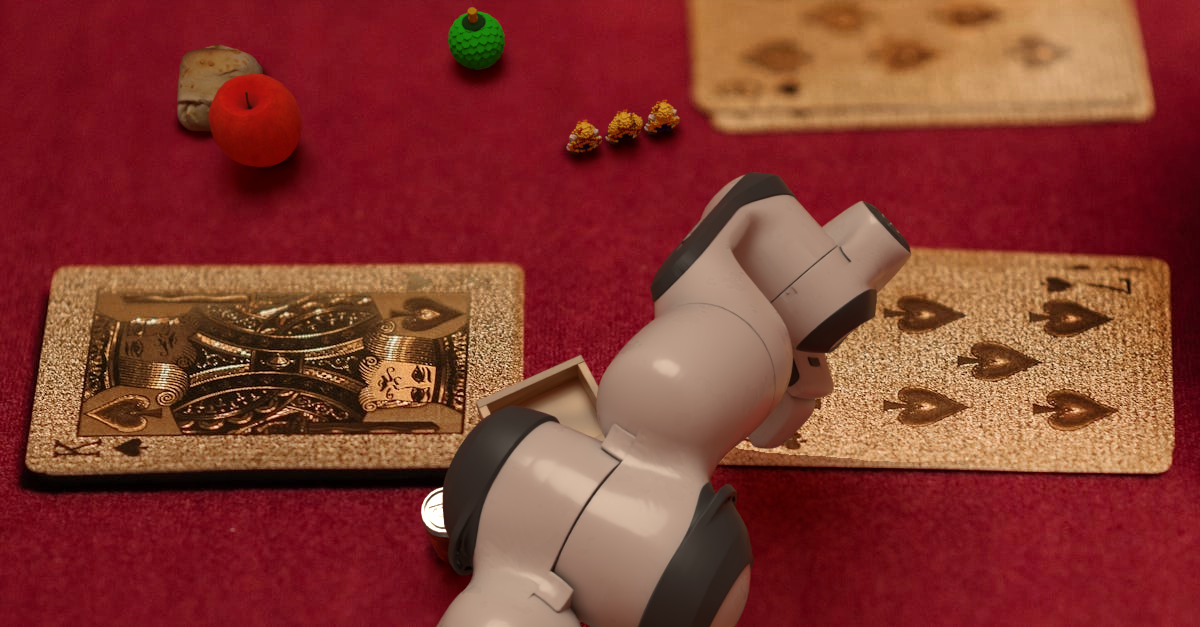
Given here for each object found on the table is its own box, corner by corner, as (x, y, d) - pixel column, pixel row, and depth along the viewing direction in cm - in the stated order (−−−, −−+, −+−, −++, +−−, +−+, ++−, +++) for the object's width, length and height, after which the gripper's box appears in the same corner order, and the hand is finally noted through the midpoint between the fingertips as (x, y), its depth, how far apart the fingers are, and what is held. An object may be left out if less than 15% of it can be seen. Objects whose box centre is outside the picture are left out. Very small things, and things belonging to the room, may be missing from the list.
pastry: (244, 50, 161) (227, 11, 154) (287, 101, 156) (272, 62, 149) (158, 97, 157) (137, 58, 150) (200, 150, 152) (180, 113, 145)
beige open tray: (623, 447, 104) (623, 432, 101) (517, 497, 102) (514, 483, 98) (582, 371, 108) (581, 354, 105) (479, 417, 106) (475, 401, 102)
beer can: (471, 513, 126) (459, 477, 115) (489, 554, 123) (478, 521, 113) (428, 533, 125) (411, 497, 114) (445, 575, 122) (430, 542, 112)
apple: (257, 205, 147) (227, 143, 136) (212, 153, 152) (178, 89, 140) (330, 158, 151) (306, 94, 140) (283, 109, 156) (256, 43, 144)
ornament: (512, 75, 158) (506, 25, 150) (458, 86, 157) (449, 37, 149) (500, 35, 162) (494, -16, 153) (447, 46, 161) (437, -4, 152)
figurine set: (683, 138, 152) (685, 108, 147) (571, 168, 150) (569, 138, 144) (674, 120, 154) (677, 89, 148) (564, 149, 152) (562, 119, 146)
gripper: (711, 246, 116) (629, 325, 123) (812, 401, 107) (717, 478, 114) (743, 252, 121) (662, 329, 128) (842, 402, 112) (750, 476, 118)
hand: (689, 401), depth 121 cm, fingers open, 8 cm apart
